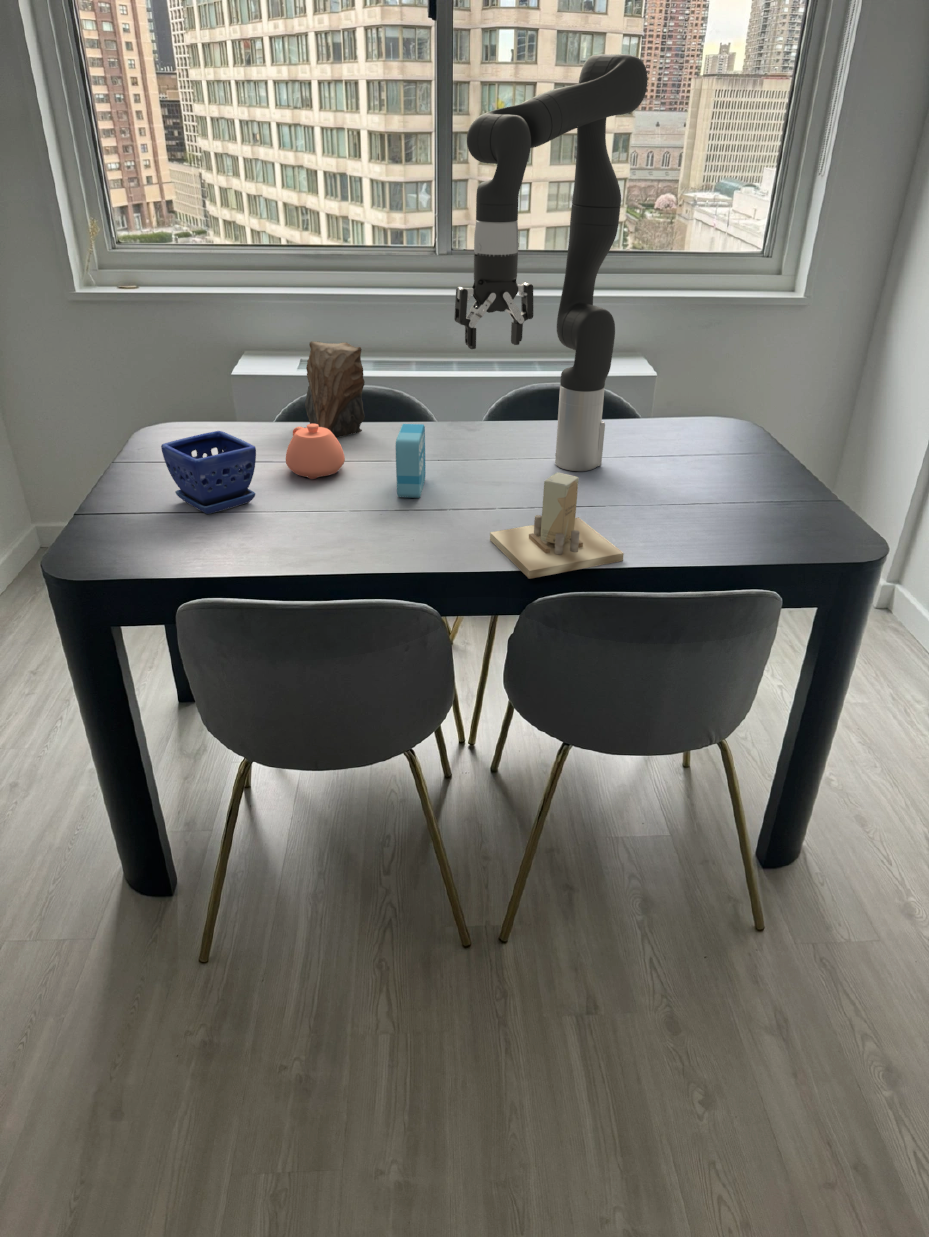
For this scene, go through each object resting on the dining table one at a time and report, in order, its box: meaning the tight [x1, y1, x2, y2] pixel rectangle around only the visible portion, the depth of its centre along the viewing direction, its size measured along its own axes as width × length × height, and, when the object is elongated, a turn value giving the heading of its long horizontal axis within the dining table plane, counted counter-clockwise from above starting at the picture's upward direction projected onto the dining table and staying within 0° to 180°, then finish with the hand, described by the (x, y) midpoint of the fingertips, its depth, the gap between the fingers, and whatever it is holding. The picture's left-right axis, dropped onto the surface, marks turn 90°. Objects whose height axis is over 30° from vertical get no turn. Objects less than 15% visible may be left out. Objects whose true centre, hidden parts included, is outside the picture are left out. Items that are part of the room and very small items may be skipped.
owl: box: [304, 340, 366, 439], centre depth 204 cm, size 13×13×20 cm
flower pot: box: [160, 430, 257, 515], centre depth 168 cm, size 13×13×12 cm
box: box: [540, 472, 580, 544], centre depth 151 cm, size 5×4×11 cm
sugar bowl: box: [285, 423, 346, 480], centre depth 184 cm, size 12×14×10 cm
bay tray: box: [489, 514, 625, 580], centre depth 153 cm, size 18×16×5 cm
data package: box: [395, 423, 426, 499], centre depth 175 cm, size 12×4×12 cm, turn 176°
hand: (493, 346), depth 158 cm, fingers open, 8 cm apart
